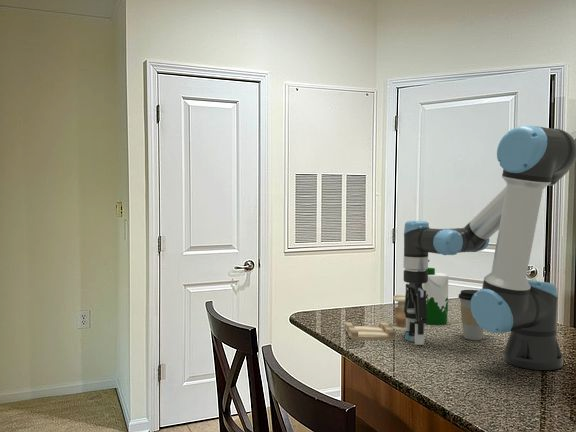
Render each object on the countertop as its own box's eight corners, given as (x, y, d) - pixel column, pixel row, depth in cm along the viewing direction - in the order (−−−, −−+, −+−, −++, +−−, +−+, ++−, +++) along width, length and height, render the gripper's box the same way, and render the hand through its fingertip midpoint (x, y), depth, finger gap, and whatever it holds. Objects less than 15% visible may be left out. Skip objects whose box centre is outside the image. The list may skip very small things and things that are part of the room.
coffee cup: (490, 342, 173) (491, 294, 173) (459, 340, 175) (459, 293, 175) (485, 334, 183) (486, 289, 182) (456, 333, 184) (456, 288, 184)
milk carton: (419, 320, 203) (419, 266, 202) (443, 320, 203) (444, 266, 202) (424, 326, 194) (425, 269, 193) (450, 326, 194) (451, 270, 193)
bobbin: (420, 331, 186) (421, 299, 186) (394, 331, 186) (395, 299, 185) (413, 325, 195) (413, 294, 195) (388, 325, 195) (388, 294, 194)
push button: (424, 339, 177) (425, 308, 176) (426, 343, 171) (426, 311, 171) (403, 338, 178) (404, 307, 177) (404, 342, 173) (405, 310, 172)
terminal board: (395, 340, 175) (395, 331, 175) (351, 340, 174) (351, 332, 174) (384, 329, 189) (385, 321, 189) (344, 329, 188) (344, 322, 188)
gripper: (439, 274, 163) (437, 349, 164) (417, 265, 185) (416, 331, 186) (414, 274, 163) (413, 350, 163) (395, 265, 185) (394, 331, 185)
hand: (414, 340), depth 175 cm, fingers open, 9 cm apart
